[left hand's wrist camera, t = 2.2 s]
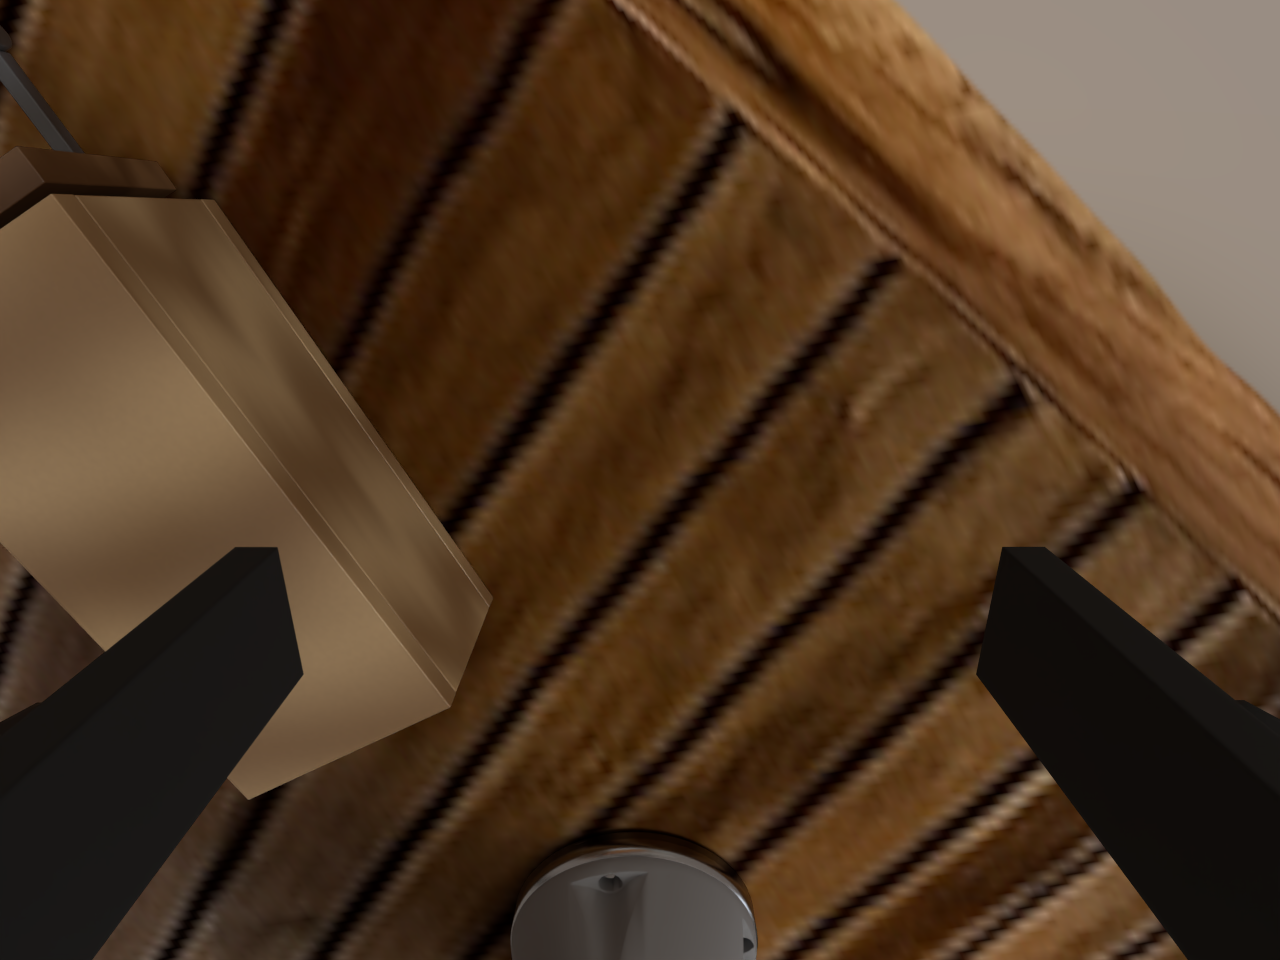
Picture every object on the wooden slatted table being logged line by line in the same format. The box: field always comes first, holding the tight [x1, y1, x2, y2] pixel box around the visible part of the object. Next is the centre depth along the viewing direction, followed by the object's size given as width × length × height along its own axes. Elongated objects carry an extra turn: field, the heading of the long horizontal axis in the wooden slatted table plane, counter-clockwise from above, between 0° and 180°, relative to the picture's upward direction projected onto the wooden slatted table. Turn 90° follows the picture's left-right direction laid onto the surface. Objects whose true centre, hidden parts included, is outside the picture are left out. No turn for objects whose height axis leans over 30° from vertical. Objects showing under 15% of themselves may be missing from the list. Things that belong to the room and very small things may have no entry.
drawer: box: [0, 26, 176, 229], centre depth 28 cm, size 26×9×7 cm, turn 28°
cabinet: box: [0, 194, 493, 800], centre depth 29 cm, size 22×10×9 cm, turn 28°
